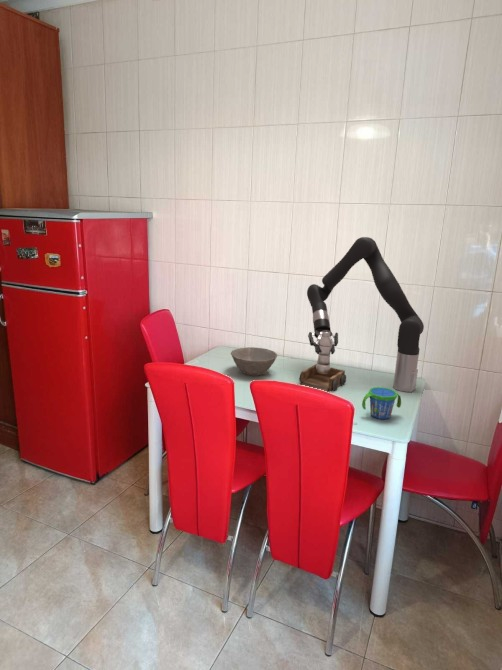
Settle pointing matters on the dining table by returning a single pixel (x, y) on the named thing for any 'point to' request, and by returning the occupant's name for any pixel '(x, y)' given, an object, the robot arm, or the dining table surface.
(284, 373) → the dining table surface
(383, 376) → the dining table surface
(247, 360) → the ceramic bowl
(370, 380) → the dining table surface
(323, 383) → the tray
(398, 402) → the snack cup
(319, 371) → the grey ridged cylindrical piece
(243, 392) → the dining table surface
